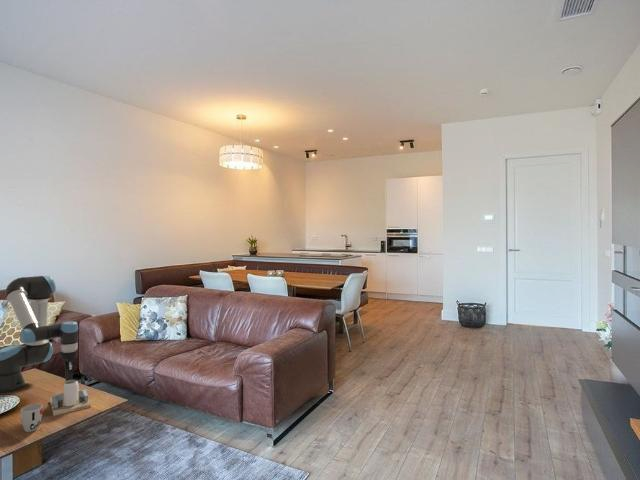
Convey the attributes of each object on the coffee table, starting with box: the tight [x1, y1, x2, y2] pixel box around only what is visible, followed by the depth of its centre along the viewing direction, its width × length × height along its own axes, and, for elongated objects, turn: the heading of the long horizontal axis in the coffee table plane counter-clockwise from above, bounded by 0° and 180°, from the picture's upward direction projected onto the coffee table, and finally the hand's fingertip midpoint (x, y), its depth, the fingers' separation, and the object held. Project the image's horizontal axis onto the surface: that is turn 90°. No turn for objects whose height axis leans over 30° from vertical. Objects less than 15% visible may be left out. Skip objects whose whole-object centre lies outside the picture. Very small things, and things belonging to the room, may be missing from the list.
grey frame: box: [51, 388, 89, 409], centre depth 199 cm, size 11×15×3 cm
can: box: [63, 378, 79, 407], centre depth 196 cm, size 6×6×12 cm
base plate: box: [49, 396, 92, 417], centre depth 199 cm, size 20×16×4 cm
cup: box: [20, 403, 44, 433], centre depth 174 cm, size 8×8×10 cm
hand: (68, 393), depth 204 cm, fingers closed
